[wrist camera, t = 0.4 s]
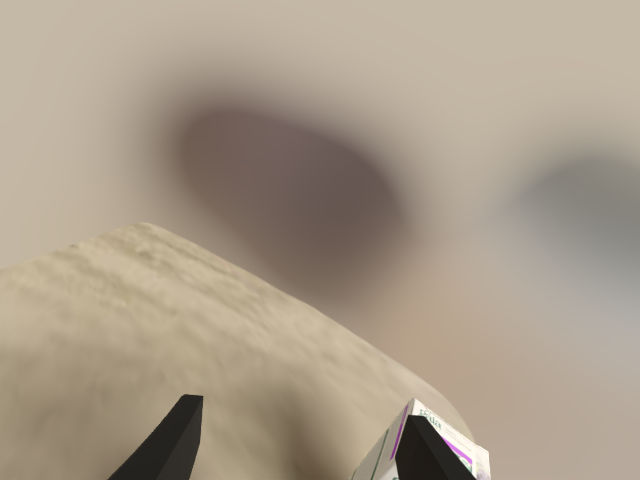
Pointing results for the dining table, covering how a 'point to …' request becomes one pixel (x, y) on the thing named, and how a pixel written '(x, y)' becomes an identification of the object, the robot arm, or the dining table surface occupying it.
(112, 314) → the dining table surface
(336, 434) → the dining table surface
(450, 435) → the syrup box
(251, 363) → the dining table surface
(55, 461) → the dining table surface
